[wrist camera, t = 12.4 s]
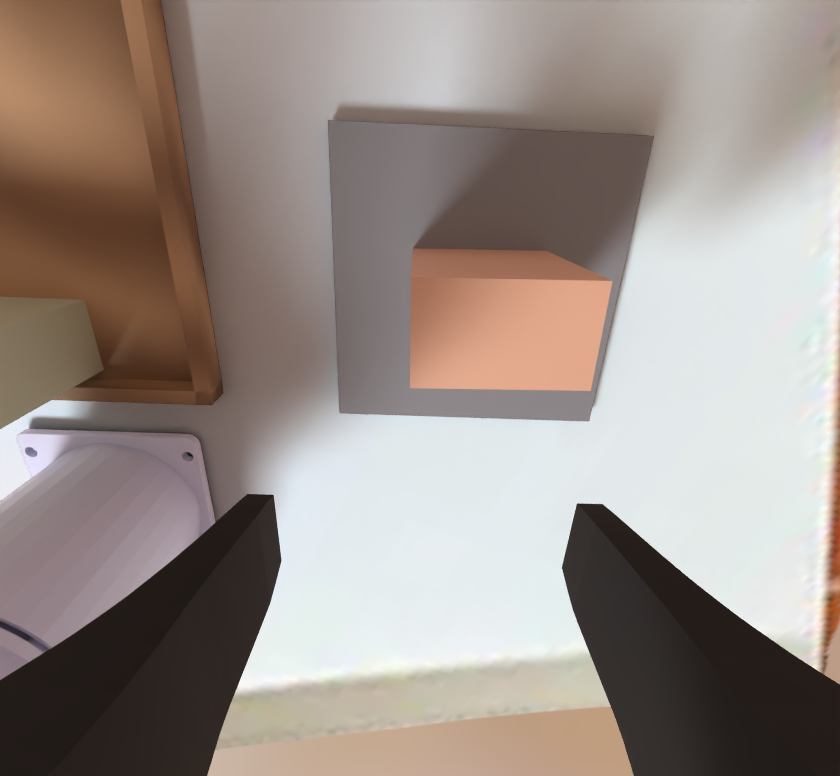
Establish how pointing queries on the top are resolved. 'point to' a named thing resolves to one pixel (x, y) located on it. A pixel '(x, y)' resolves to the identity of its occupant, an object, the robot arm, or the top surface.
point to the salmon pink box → (504, 320)
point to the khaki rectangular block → (43, 352)
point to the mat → (465, 241)
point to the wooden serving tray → (104, 193)
